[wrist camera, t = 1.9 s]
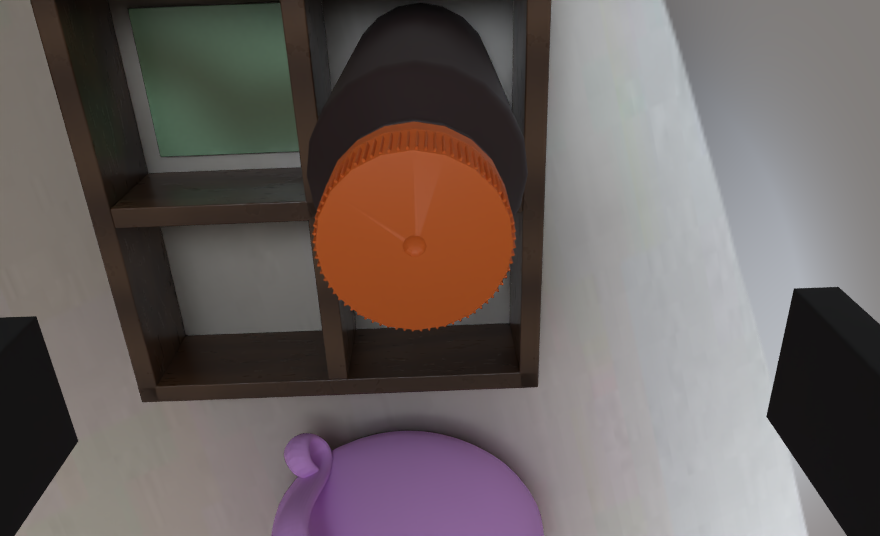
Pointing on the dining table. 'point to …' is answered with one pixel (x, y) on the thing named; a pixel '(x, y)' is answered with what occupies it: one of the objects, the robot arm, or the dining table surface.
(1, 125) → the dining table surface
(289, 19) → the wooden box with compartments
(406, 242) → the vinegar
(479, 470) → the teapot
